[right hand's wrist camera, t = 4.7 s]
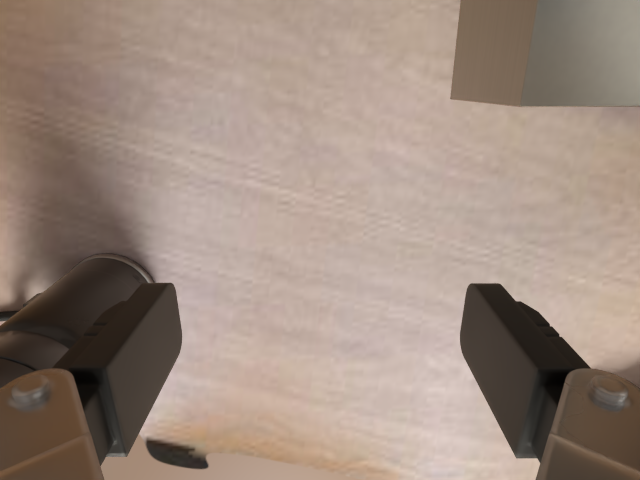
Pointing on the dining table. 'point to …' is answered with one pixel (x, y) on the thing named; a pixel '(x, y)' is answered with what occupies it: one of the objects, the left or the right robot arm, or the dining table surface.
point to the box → (548, 53)
